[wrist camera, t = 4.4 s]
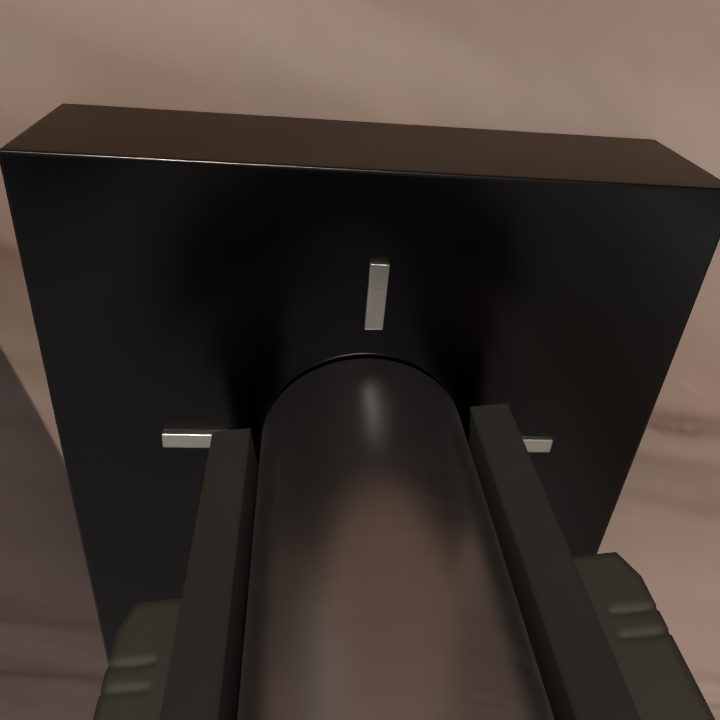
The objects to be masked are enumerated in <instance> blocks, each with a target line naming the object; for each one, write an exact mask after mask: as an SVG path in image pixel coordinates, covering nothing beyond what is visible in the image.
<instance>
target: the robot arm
mask: <svg viewBox="0 0 720 720" xmlns="http://www.w3.org/2000/svg"><path fill="white" fill-rule="evenodd" d="M469 449H470V452H471V455H472V458H473V462H474V465H475V468H476V471H477V474H478V478H479V481H480V484H481V487H482V490H483V493H484V497H485V500H486V503H487V506H488V509H489V513H490V516H491V519H492V522H493V525H494V529H495V532H496V535H497V538H498V541H499V545H500V548H501V551H502V554H503V557H504V560H505V564H506V567H507V570H508V573H509V576H510V580H511V583H512V586H513V589H514V592H515V596H516V599H517V602H518V605H519V608H520V612H521V615H522V618H523V621H524V624H525V627H526V631H527V634H528V637H529V640H530V643H531V647H532V650H533V653H534V656H535V659H536V663H537V666H538V669H539V672H540V675H541V679H542V682H543V685H544V688H545V691H546V694H547V698H548V701H549V704H550V707H551V710H552V714H553V717H554V720H715V718H714V716H713V715H712V713H711V711H710V709H709V707H708V705H707V703H706V701H705V699H704V697H703V695H702V693H701V691H700V689H699V687H698V685H697V683H696V682H695V680H694V678H693V676H692V674H691V672H690V670H689V668H688V666H687V664H686V662H685V660H684V658H683V656H682V654H681V652H680V651H679V649H678V647H677V645H676V643H675V641H674V639H673V637H672V635H670V634H669V632H668V627H667V625H666V623H665V621H664V619H663V618H662V616H661V614H660V612H659V611H657V609H656V604H655V602H654V600H653V598H652V596H651V594H650V592H649V590H648V588H647V587H646V585H645V583H644V581H643V579H642V577H641V575H639V574H638V573H637V572H636V571H635V570H634V569H633V568H632V567H631V566H630V565H629V564H628V563H627V562H626V561H625V560H624V559H623V558H622V557H621V556H619V555H618V554H617V553H616V552H613V553H603V554H594V555H584V556H574V557H572V555H571V552H570V550H569V548H568V545H567V543H566V540H565V538H564V536H563V533H562V531H561V529H560V526H559V524H558V522H557V519H556V517H555V514H554V512H553V510H552V507H551V505H550V503H549V500H548V498H547V495H546V493H545V491H544V488H543V486H542V484H541V481H540V479H539V477H538V474H537V472H536V469H535V467H534V465H533V462H532V460H531V458H530V455H529V453H528V450H527V448H526V446H525V443H524V441H523V439H522V436H521V434H520V432H519V429H518V427H517V424H516V422H515V420H514V417H513V415H512V413H511V410H510V408H509V405H508V403H504V404H494V405H483V406H473V407H470V436H469ZM258 474H259V468H258V463H257V459H256V454H255V449H254V444H253V439H252V434H251V429H250V428H247V429H236V430H226V431H216V432H212V437H211V443H210V448H209V453H208V459H207V464H206V470H205V475H204V480H203V486H202V491H201V497H200V502H199V507H198V513H197V518H196V524H195V529H194V534H193V540H192V545H191V551H190V556H189V561H188V567H187V572H186V578H185V583H184V588H183V594H182V598H177V599H167V600H157V601H148V602H138V603H136V604H135V605H134V607H133V608H132V610H131V611H130V613H129V614H128V616H127V617H126V618H125V620H124V621H123V623H122V624H121V626H120V627H119V629H118V630H117V632H116V635H115V639H114V643H113V647H112V650H111V654H110V658H109V661H108V669H106V673H105V676H104V680H103V684H102V688H101V696H99V699H98V702H97V706H96V710H95V714H94V717H93V720H237V716H238V705H239V693H240V682H241V670H242V659H243V647H244V636H245V624H246V613H247V601H248V590H249V578H250V567H251V555H252V544H253V532H254V521H255V509H256V498H257V486H258Z"/></svg>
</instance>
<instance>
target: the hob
mask: <svg viewBox="0 0 720 720" xmlns="http://www.w3.org/2000/svg"><path fill="white" fill-rule="evenodd" d="M0 165H1V170H2V174H3V179H4V184H5V188H6V193H7V197H8V202H9V207H10V211H11V216H12V220H13V225H14V230H15V234H16V239H17V244H18V248H19V253H20V257H21V262H22V267H23V271H24V276H25V281H26V285H27V290H28V294H29V299H30V304H31V308H32V313H33V318H34V322H35V327H36V331H37V336H38V341H39V345H40V350H41V354H42V359H43V364H44V368H45V373H46V378H47V382H48V387H49V391H50V396H51V401H52V405H53V410H54V415H55V419H56V424H57V428H58V433H59V438H60V442H61V447H62V451H63V456H64V461H65V465H66V470H67V475H68V479H69V484H70V488H71V493H72V498H73V502H74V507H75V512H76V516H77V521H78V525H79V530H80V535H81V539H82V544H83V549H84V553H85V558H86V562H87V567H88V572H89V576H90V581H91V585H92V590H93V595H94V599H95V604H96V609H97V613H98V618H99V622H100V627H101V632H102V636H103V641H104V646H105V650H106V655H107V659H108V661H109V658H110V654H111V650H112V647H113V643H114V639H115V635H116V632H117V630H118V629H119V627H120V626H121V624H122V623H123V621H124V620H125V618H126V617H127V616H128V614H129V613H130V611H131V610H132V608H133V607H134V605H135V604H136V603H138V602H148V601H157V600H167V599H177V598H182V594H183V588H184V583H185V578H186V572H187V567H188V561H189V556H190V551H191V545H192V540H193V534H194V529H195V524H196V518H197V513H198V507H199V502H200V497H201V491H202V486H203V480H204V475H205V470H206V464H207V459H208V453H209V448H210V443H211V437H212V432H216V431H226V430H236V429H247V428H250V429H251V434H252V439H253V444H254V449H255V454H256V459H257V463H258V468H259V463H260V451H261V440H262V430H263V426H264V422H265V419H266V417H267V415H268V412H269V410H270V409H271V407H272V405H273V404H274V402H275V401H276V399H277V398H278V397H279V396H280V395H281V394H282V393H283V391H284V390H285V389H287V388H288V387H289V386H290V385H291V384H292V383H294V382H295V381H296V380H298V379H299V378H301V377H302V376H304V375H305V374H307V373H309V372H311V371H313V370H315V369H317V368H320V367H323V366H325V365H328V364H331V363H335V362H340V361H344V360H351V359H368V358H372V359H383V360H389V361H394V362H399V363H401V364H404V365H407V366H410V367H413V368H415V369H417V370H419V371H421V372H423V373H424V374H426V375H427V376H429V377H430V378H432V379H433V380H435V381H436V382H437V383H438V384H439V385H440V386H441V387H442V388H443V389H444V390H445V391H446V392H447V394H448V395H449V396H450V398H451V399H452V401H453V403H454V404H455V406H456V409H457V411H458V414H459V417H460V420H461V423H462V426H463V430H464V433H465V436H466V439H467V442H468V446H469V436H470V407H473V406H483V405H494V404H504V403H508V405H509V408H510V410H511V413H512V415H513V417H514V420H515V422H516V424H517V427H518V429H519V432H520V434H521V436H522V439H523V441H524V443H525V446H526V448H527V450H528V453H529V455H530V458H531V460H532V462H533V465H534V467H535V469H536V472H537V474H538V477H539V479H540V481H541V484H542V486H543V488H544V491H545V493H546V495H547V498H548V500H549V503H550V505H551V507H552V510H553V512H554V514H555V517H556V519H557V522H558V524H559V526H560V529H561V531H562V533H563V536H564V538H565V540H566V543H567V545H568V548H569V550H570V552H571V555H572V557H574V556H584V555H594V554H597V552H598V549H599V547H600V544H601V541H602V539H603V536H604V534H605V531H606V529H607V526H608V523H609V521H610V518H611V516H612V513H613V511H614V508H615V506H616V503H617V500H618V498H619V495H620V493H621V490H622V488H623V485H624V482H625V480H626V477H627V475H628V472H629V470H630V467H631V465H632V462H633V459H634V457H635V454H636V452H637V449H638V447H639V444H640V441H641V439H642V436H643V434H644V431H645V429H646V426H647V424H648V421H649V418H650V416H651V413H652V411H653V408H654V406H655V403H656V400H657V398H658V395H659V393H660V390H661V388H662V385H663V382H664V380H665V377H666V375H667V372H668V370H669V367H670V365H671V362H672V359H673V357H674V354H675V352H676V349H677V347H678V344H679V341H680V339H681V336H682V334H683V331H684V329H685V326H686V324H687V321H688V318H689V316H690V313H691V311H692V308H693V306H694V303H695V300H696V298H697V295H698V293H699V290H700V288H701V285H702V282H703V280H704V277H705V275H706V272H707V270H708V267H709V265H710V262H711V259H712V257H713V254H714V252H715V249H716V247H717V244H718V241H719V239H720V179H718V178H716V177H715V176H713V175H712V174H710V173H708V172H707V171H705V170H703V169H702V168H700V167H698V166H697V165H695V164H694V163H692V162H690V161H689V160H687V159H685V158H684V157H682V156H680V155H679V154H677V153H675V152H674V151H672V150H671V149H669V148H667V147H666V146H664V145H662V144H661V143H659V142H657V141H656V140H649V139H633V138H617V137H600V136H584V135H568V134H551V133H535V132H519V131H502V130H486V129H470V128H454V127H437V126H421V125H405V124H388V123H372V122H356V121H339V120H323V119H307V118H290V117H274V116H258V115H242V114H225V113H209V112H193V111H176V110H160V109H144V108H127V107H111V106H95V105H78V104H61V105H60V106H58V107H57V108H56V109H54V110H53V111H51V112H50V113H49V114H47V115H46V116H45V117H43V118H42V119H40V120H39V121H38V122H36V123H35V124H33V125H32V126H31V127H29V128H28V129H27V130H25V131H24V132H22V133H21V134H20V135H18V136H17V137H16V138H14V139H13V140H11V141H10V142H9V143H7V144H6V145H4V146H3V147H2V148H0Z"/></svg>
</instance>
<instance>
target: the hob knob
mask: <svg viewBox="0 0 720 720" xmlns="http://www.w3.org/2000/svg"><path fill="white" fill-rule="evenodd" d="M237 720H554V717H553V714H552V710H551V707H550V704H549V701H548V698H547V694H546V691H545V688H544V685H543V682H542V679H541V675H540V672H539V669H538V666H537V663H536V659H535V656H534V653H533V650H532V647H531V643H530V640H529V637H528V634H527V631H526V627H525V624H524V621H523V618H522V615H521V612H520V608H519V605H518V602H517V599H516V596H515V592H514V589H513V586H512V583H511V580H510V576H509V573H508V570H507V567H506V564H505V560H504V557H503V554H502V551H501V548H500V545H499V541H498V538H497V535H496V532H495V529H494V525H493V522H492V519H491V516H490V513H489V509H488V506H487V503H486V500H485V497H484V493H483V490H482V487H481V484H480V481H479V478H478V474H477V471H476V468H475V465H474V462H473V458H472V455H471V452H470V449H469V446H468V442H467V439H466V436H465V433H464V430H463V426H462V423H461V420H460V417H459V414H458V411H457V409H456V406H455V404H454V403H453V401H452V399H451V398H450V396H449V395H448V394H447V392H446V391H445V390H444V389H443V388H442V387H441V386H440V385H439V384H438V383H437V382H436V381H435V380H433V379H432V378H430V377H429V376H427V375H426V374H424V373H423V372H421V371H419V370H417V369H415V368H413V367H410V366H407V365H404V364H401V363H399V362H394V361H389V360H383V359H372V358H368V359H351V360H344V361H340V362H335V363H331V364H328V365H325V366H323V367H320V368H317V369H315V370H313V371H311V372H309V373H307V374H305V375H304V376H302V377H301V378H299V379H298V380H296V381H295V382H294V383H292V384H291V385H290V386H289V387H288V388H287V389H285V390H284V391H283V393H282V394H281V395H280V396H279V397H278V398H277V399H276V401H275V402H274V404H273V405H272V407H271V409H270V410H269V412H268V415H267V417H266V419H265V422H264V426H263V430H262V440H261V451H260V463H259V474H258V486H257V498H256V509H255V521H254V532H253V544H252V555H251V567H250V578H249V590H248V601H247V613H246V624H245V636H244V647H243V659H242V670H241V682H240V693H239V705H238V716H237Z"/></svg>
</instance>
